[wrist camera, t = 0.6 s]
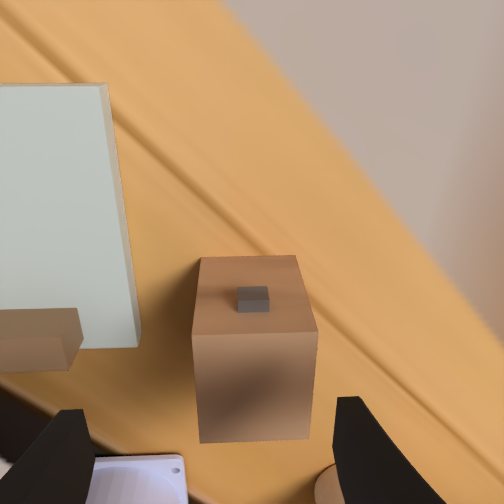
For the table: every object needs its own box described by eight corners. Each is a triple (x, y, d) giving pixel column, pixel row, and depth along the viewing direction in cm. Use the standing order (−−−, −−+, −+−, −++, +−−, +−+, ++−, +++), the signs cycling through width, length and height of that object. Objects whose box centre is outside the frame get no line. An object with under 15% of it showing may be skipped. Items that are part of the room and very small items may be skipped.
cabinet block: (290, 345, 23) (309, 439, 18) (206, 348, 23) (199, 443, 18) (295, 244, 20) (319, 319, 15) (200, 246, 20) (190, 322, 15)
